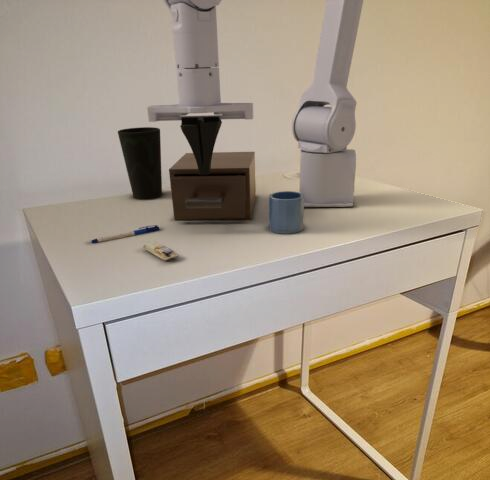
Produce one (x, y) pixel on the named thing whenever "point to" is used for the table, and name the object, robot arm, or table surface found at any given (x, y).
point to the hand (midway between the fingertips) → (205, 173)
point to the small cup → (286, 212)
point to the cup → (142, 160)
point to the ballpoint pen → (127, 234)
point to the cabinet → (223, 165)
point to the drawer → (209, 196)
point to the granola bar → (160, 250)
